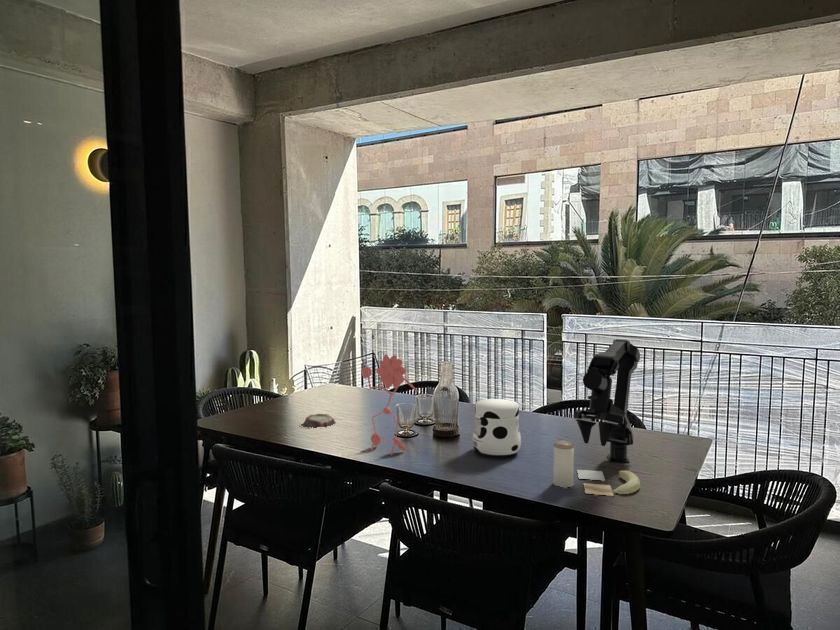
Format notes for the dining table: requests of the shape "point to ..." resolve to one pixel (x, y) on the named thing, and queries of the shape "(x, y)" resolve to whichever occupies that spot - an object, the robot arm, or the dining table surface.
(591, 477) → the grey square tile
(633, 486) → the fruit
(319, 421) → the quiche
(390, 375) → the pink blossom sprig
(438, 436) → the dining table surface
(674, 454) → the dining table surface
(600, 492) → the cork coaster
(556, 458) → the tumbler
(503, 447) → the milk container
